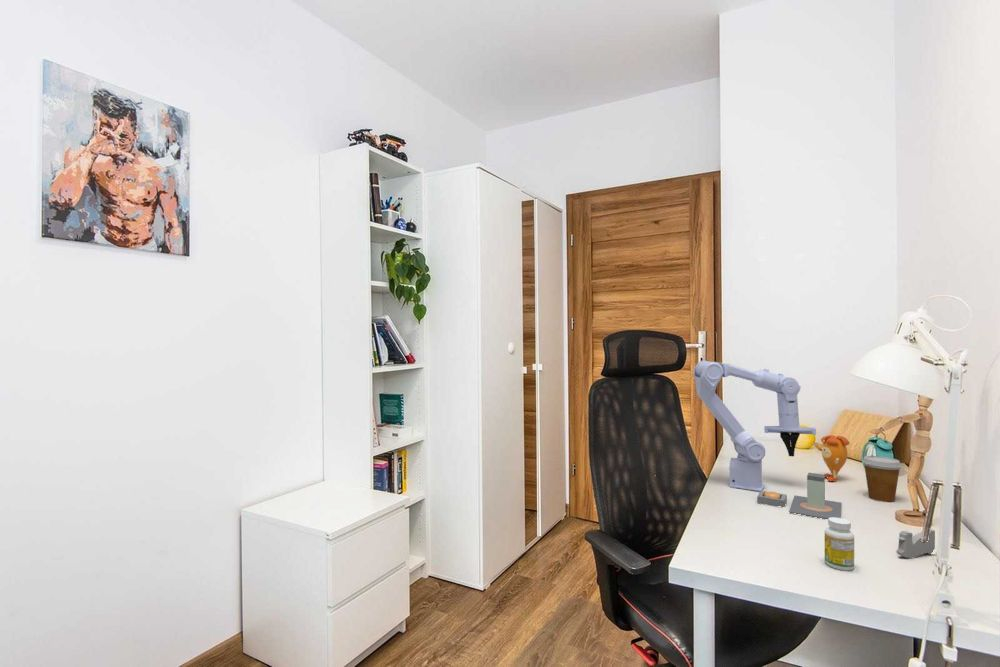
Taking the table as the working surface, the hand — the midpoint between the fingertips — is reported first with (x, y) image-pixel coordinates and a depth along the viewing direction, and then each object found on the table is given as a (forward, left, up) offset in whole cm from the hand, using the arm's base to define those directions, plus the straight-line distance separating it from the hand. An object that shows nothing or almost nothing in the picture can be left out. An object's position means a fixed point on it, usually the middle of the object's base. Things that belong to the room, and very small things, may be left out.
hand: (791, 455), depth 165 cm
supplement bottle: (+14, -59, -11) cm, 61 cm away
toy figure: (+12, +19, -11) cm, 25 cm away
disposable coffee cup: (+24, +3, -11) cm, 26 cm away
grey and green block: (+8, -19, -10) cm, 23 cm away
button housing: (-3, -20, -11) cm, 23 cm away
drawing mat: (+8, -19, -11) cm, 23 cm away
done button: (-3, -20, -10) cm, 22 cm away
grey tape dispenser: (+28, -43, -11) cm, 53 cm away
